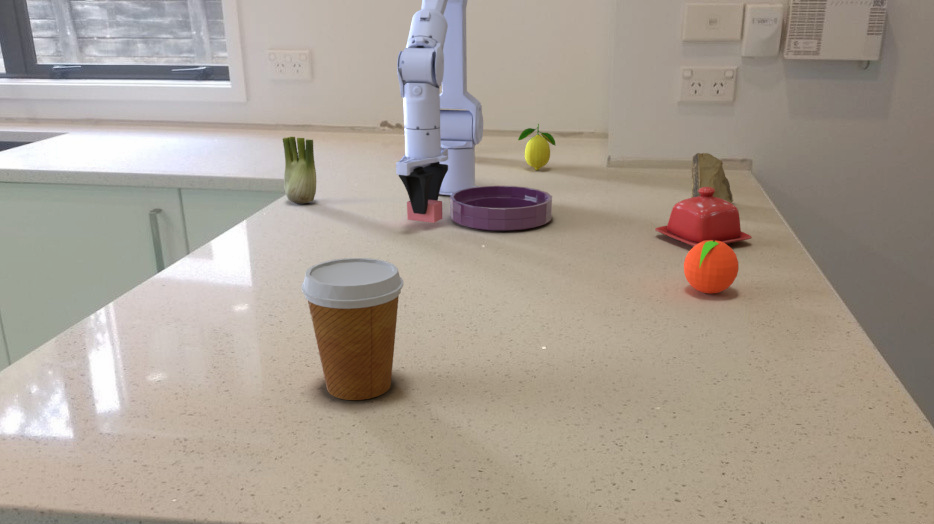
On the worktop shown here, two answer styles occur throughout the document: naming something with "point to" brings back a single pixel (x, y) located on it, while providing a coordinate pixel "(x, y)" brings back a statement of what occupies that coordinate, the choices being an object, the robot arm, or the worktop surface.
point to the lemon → (537, 148)
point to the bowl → (501, 208)
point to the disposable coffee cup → (354, 323)
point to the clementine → (711, 266)
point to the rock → (709, 176)
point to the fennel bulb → (299, 170)
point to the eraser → (431, 215)
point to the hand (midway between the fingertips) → (424, 210)
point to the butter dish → (704, 220)
